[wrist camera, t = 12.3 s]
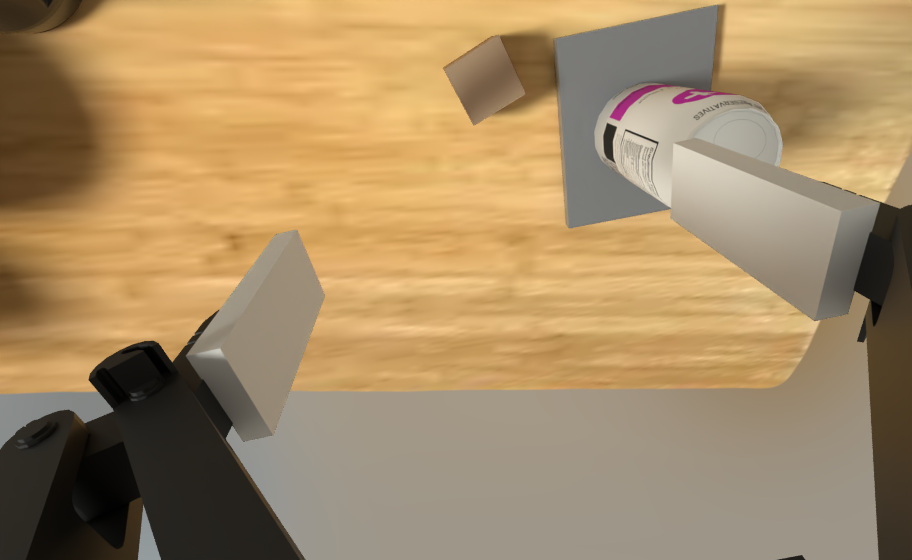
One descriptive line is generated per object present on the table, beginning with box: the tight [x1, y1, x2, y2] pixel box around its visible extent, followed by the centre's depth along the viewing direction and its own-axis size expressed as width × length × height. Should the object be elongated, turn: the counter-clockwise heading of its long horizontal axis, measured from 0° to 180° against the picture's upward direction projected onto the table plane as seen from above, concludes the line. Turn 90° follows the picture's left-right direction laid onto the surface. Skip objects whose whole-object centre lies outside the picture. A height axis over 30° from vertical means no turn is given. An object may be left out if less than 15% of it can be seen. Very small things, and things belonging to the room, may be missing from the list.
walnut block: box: [443, 35, 526, 125], centre depth 38 cm, size 5×5×5 cm
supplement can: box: [594, 83, 783, 208], centre depth 35 cm, size 8×8×15 cm
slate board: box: [553, 5, 718, 228], centre depth 42 cm, size 18×14×1 cm
